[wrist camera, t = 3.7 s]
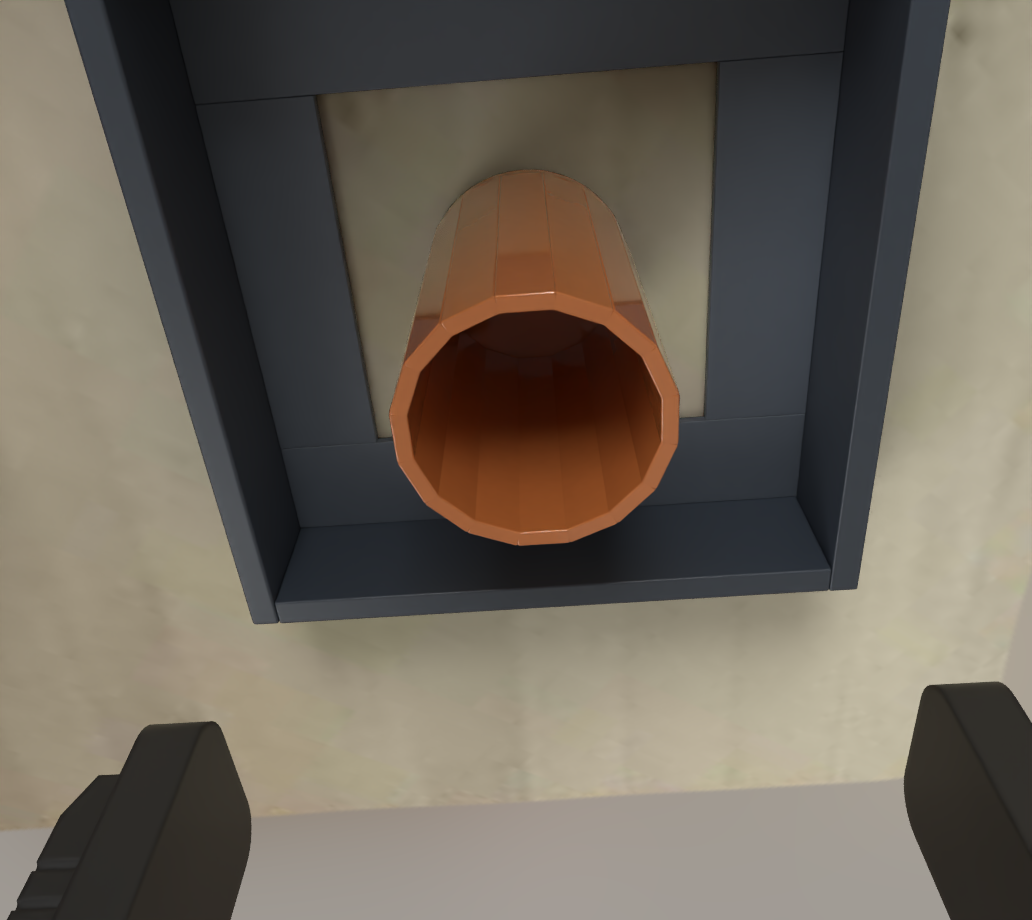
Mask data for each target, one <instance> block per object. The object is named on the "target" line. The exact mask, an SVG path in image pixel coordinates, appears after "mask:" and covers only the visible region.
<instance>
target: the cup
mask: <svg viewBox="0 0 1032 920" xmlns="http://www.w3.org/2000/svg"><path fill="white" fill-rule="evenodd" d="M679 404H680V395H679V391H678V388H677V385H676V382H675V379H674V376H673V373H672V371H671V368H670V365H669V362H668V359H667V356H666V353H665V350H664V347H663V345H662V342H661V339H660V336H659V333H658V330H657V327H656V324H655V321H654V319H653V316H652V313H651V310H650V307H649V304H648V301H647V298H646V295H645V293H644V290H643V287H642V284H641V281H640V278H639V275H638V272H637V269H636V267H635V264H634V261H633V258H632V255H631V252H630V249H629V247H628V245H627V242H626V240H625V238H624V236H623V233H622V231H621V228H620V226H619V224H618V222H617V220H616V218H615V216H614V214H613V213H612V212H611V211H610V209H609V208H608V206H607V205H606V204H605V203H604V202H603V201H602V200H601V199H600V198H599V197H598V196H597V195H596V194H595V193H594V192H592V191H591V190H590V189H589V188H587V187H586V186H584V185H583V184H581V183H579V182H577V181H576V180H574V179H571V178H569V177H567V176H564V175H561V174H558V173H554V172H550V171H543V170H516V171H509V172H505V173H501V174H498V175H494V176H492V177H490V178H488V179H485V180H483V181H481V182H479V183H478V184H476V185H475V186H473V187H471V188H470V189H469V190H467V191H466V192H465V193H464V194H462V195H461V196H460V197H459V198H458V199H457V200H456V201H455V202H454V203H453V204H452V206H451V207H450V208H449V209H448V211H447V212H446V214H445V215H444V217H443V218H442V220H441V222H440V224H439V225H438V227H437V228H436V232H435V235H434V239H433V242H432V246H431V249H430V253H429V256H428V260H427V263H426V267H425V271H424V275H423V279H422V283H421V287H420V291H419V295H418V299H417V303H416V307H415V311H414V315H413V319H412V323H411V327H410V331H409V335H408V339H407V343H406V347H405V351H404V355H403V359H402V363H401V367H400V371H399V375H398V379H397V383H396V387H395V391H394V395H393V399H392V402H391V406H390V410H389V413H390V414H389V419H390V424H391V430H392V436H393V442H394V448H395V454H396V459H397V462H398V465H399V466H400V468H401V469H402V471H403V472H404V474H405V475H406V477H407V478H408V479H409V481H410V482H411V484H412V485H413V487H414V488H415V490H416V491H417V493H418V494H419V496H420V497H421V499H422V500H423V502H424V503H426V505H427V506H429V507H430V508H432V509H433V510H434V511H436V512H437V513H439V514H440V515H442V516H443V517H445V518H446V519H448V520H449V521H451V522H452V523H454V524H455V525H457V526H458V527H460V528H461V529H463V530H464V531H465V532H468V533H470V534H474V535H478V536H482V537H486V538H489V539H493V540H497V541H501V542H505V543H508V544H512V545H519V546H524V545H540V544H556V543H569V542H573V541H575V540H578V539H580V538H583V537H585V536H588V535H590V534H593V533H595V532H598V531H600V530H603V529H605V528H608V527H610V526H612V525H615V524H617V523H618V522H620V521H621V520H622V519H624V518H625V517H626V516H627V515H628V514H629V513H630V512H631V511H633V510H634V509H635V508H636V507H637V506H638V505H639V504H640V503H642V502H643V501H644V500H645V499H646V498H647V497H648V496H649V495H651V494H652V493H653V492H654V491H655V489H656V488H657V487H658V485H659V483H660V481H661V479H662V477H663V475H664V473H665V471H666V469H667V467H668V464H669V462H670V460H671V458H672V456H673V454H674V452H675V450H676V448H677V446H678V442H679Z"/></svg>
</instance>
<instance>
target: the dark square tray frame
mask: <svg viewBox="0 0 1032 920" xmlns="http://www.w3.org/2000/svg"><path fill="white" fill-rule="evenodd" d="M64 1H65V5H66V8H67V11H68V15H69V18H70V21H71V24H72V28H73V31H74V34H75V38H76V41H77V44H78V48H79V51H80V54H81V57H82V61H83V64H84V67H85V71H86V74H87V77H88V80H89V84H90V87H91V90H92V94H93V97H94V100H95V104H96V107H97V110H98V113H99V117H100V120H101V123H102V127H103V130H104V133H105V136H106V140H107V143H108V146H109V150H110V153H111V156H112V159H113V163H114V166H115V169H116V173H117V176H118V179H119V183H120V186H121V189H122V192H123V196H124V199H125V202H126V206H127V209H128V212H129V215H130V219H131V222H132V225H133V229H134V232H135V235H136V238H137V242H138V245H139V248H140V252H141V255H142V258H143V262H144V265H145V268H146V271H147V275H148V278H149V281H150V285H151V288H152V291H153V294H154V298H155V301H156V304H157V308H158V311H159V314H160V318H161V321H162V324H163V327H164V331H165V334H166V337H167V341H168V344H169V347H170V350H171V354H172V357H173V360H174V364H175V367H176V370H177V373H178V377H179V380H180V383H181V387H182V390H183V393H184V397H185V400H186V403H187V406H188V410H189V413H190V416H191V420H192V423H193V426H194V429H195V433H196V436H197V439H198V443H199V446H200V449H201V453H202V456H203V459H204V462H205V466H206V469H207V472H208V476H209V479H210V482H211V485H212V489H213V492H214V495H215V499H216V502H217V505H218V508H219V512H220V515H221V518H222V522H223V525H224V528H225V532H226V535H227V538H228V541H229V545H230V548H231V551H232V555H233V558H234V561H235V564H236V568H237V571H238V574H239V578H240V581H241V584H242V588H243V591H244V594H245V597H246V601H247V604H248V607H249V611H250V614H251V617H252V620H253V623H254V624H271V623H278V622H279V621H280V623H293V622H309V621H326V620H343V619H360V618H376V617H393V616H410V615H427V614H444V613H460V612H477V611H494V610H511V609H527V608H544V607H561V606H578V605H595V604H611V603H628V602H645V601H662V600H678V599H695V598H712V597H729V596H745V595H762V594H779V593H796V592H813V591H827V590H831V591H834V590H850V589H857V586H858V579H859V573H860V567H861V561H862V554H863V548H864V542H865V535H866V529H867V523H868V516H869V510H870V504H871V498H872V491H873V485H874V479H875V472H876V466H877V460H878V454H879V447H880V441H881V435H882V428H883V422H884V416H885V409H886V403H887V397H888V391H889V384H890V378H891V372H892V365H893V359H894V353H895V347H896V340H897V334H898V328H899V321H900V315H901V309H902V302H903V296H904V290H905V284H906V277H907V271H908V265H909V258H910V252H911V246H912V239H913V233H914V227H915V221H916V214H917V208H918V202H919V195H920V189H921V183H922V177H923V170H924V164H925V158H926V151H927V145H928V139H929V132H930V126H931V120H932V114H933V107H934V101H935V95H936V88H937V82H938V76H939V70H940V63H941V57H942V51H943V44H944V38H945V32H946V25H947V19H948V13H949V7H950V0H64ZM706 62H718V63H717V88H716V114H715V140H714V166H713V192H712V218H711V244H710V270H709V296H708V322H707V348H706V374H705V400H704V416H702V417H688V418H679V442H678V446H677V448H676V450H675V452H674V454H673V456H672V458H671V460H670V462H669V464H668V467H667V469H666V471H665V473H664V475H663V477H662V479H661V481H660V483H659V485H658V487H657V488H656V489H655V491H654V492H653V493H652V494H651V495H649V496H648V497H647V498H646V499H645V500H644V501H643V502H642V503H640V504H639V505H638V506H637V507H636V508H635V509H634V510H633V511H631V512H630V513H629V514H628V515H627V516H626V517H625V518H624V519H622V520H621V521H620V522H618V523H617V524H615V525H612V526H610V527H608V528H605V529H603V530H600V531H598V532H595V533H593V534H590V535H588V536H585V537H583V538H580V539H578V540H575V541H573V542H569V543H556V544H540V545H524V546H519V545H512V544H508V543H505V542H501V541H497V540H493V539H489V538H486V537H482V536H478V535H474V534H470V533H468V532H465V531H464V530H463V529H461V528H460V527H458V526H457V525H455V524H454V523H452V522H451V521H449V520H448V519H446V518H445V517H443V516H442V515H440V514H439V513H437V512H436V511H434V510H433V509H432V508H430V507H429V506H427V505H426V503H424V502H423V500H422V499H421V497H420V496H419V494H418V493H417V491H416V490H415V488H414V487H413V485H412V484H411V482H410V481H409V479H408V478H407V477H406V475H405V474H404V472H403V471H402V469H401V468H400V466H399V465H398V462H397V459H396V454H395V448H394V442H393V437H391V438H378V435H377V430H376V424H375V419H374V413H373V408H372V402H371V397H370V391H369V386H368V380H367V375H366V369H365V364H364V358H363V353H362V347H361V342H360V336H359V331H358V325H357V319H356V314H355V308H354V303H353V297H352V292H351V286H350V281H349V275H348V270H347V264H346V259H345V253H344V248H343V242H342V237H341V231H340V226H339V220H338V215H337V209H336V204H335V198H334V193H333V187H332V182H331V176H330V171H329V165H328V160H327V154H326V149H325V143H324V138H323V132H322V126H321V121H320V115H319V110H318V104H317V99H316V95H318V94H330V93H342V92H354V91H366V90H379V89H391V88H403V87H415V86H427V85H439V84H451V83H464V82H476V81H488V80H500V79H512V78H524V77H536V76H549V75H561V74H573V73H585V72H597V71H609V70H621V69H634V68H646V67H658V66H670V65H682V64H694V63H706Z"/></svg>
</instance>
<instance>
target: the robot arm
mask: <svg viewBox="0 0 1032 920" xmlns="http://www.w3.org/2000/svg"><path fill="white" fill-rule="evenodd" d="M904 794H905V802H906V808H907V813H908V817H909V821H910V824H911V827H912V830H913V833H914V835H915V838H916V840H917V842H918V845H919V847H920V849H921V852H922V854H923V856H924V859H925V861H926V863H927V866H928V868H929V870H930V872H931V875H932V877H933V880H934V882H935V884H936V887H937V889H938V891H939V893H940V896H941V898H942V900H943V903H944V905H945V908H946V910H947V912H948V915H949V917H950V919H951V920H1032V723H1031V721H1030V720H1029V718H1028V716H1027V715H1026V713H1025V711H1024V710H1023V708H1022V707H1021V705H1020V704H1019V702H1018V700H1017V699H1016V697H1015V696H1014V694H1013V693H1012V692H1011V691H1010V689H1009V688H1008V687H1007V686H1006V685H1004V684H1003V683H1000V682H978V683H960V684H941V685H929V686H927V687H926V688H925V689H924V691H923V693H922V696H921V700H920V705H919V709H918V714H917V719H916V723H915V728H914V732H913V737H912V742H911V746H910V751H909V755H908V760H907V765H906V769H905V775H904ZM250 843H251V814H250V808H249V804H248V801H247V798H246V796H245V793H244V790H243V787H242V784H241V782H240V779H239V776H238V773H237V771H236V768H235V765H234V762H233V760H232V757H231V754H230V751H229V749H228V746H227V743H226V740H225V738H224V735H223V732H222V730H221V728H220V727H219V725H218V724H217V723H216V722H213V721H210V722H191V723H173V724H154V725H148V726H146V727H145V728H144V729H143V730H142V731H141V732H140V734H139V735H138V737H137V739H136V741H135V743H134V745H133V747H132V749H131V751H130V754H129V756H128V758H127V760H126V762H125V764H124V766H123V768H122V771H121V773H120V774H117V775H98V776H97V778H96V779H95V780H94V781H93V782H92V783H91V784H90V785H89V786H88V787H87V788H86V789H85V790H84V791H83V792H82V793H81V794H80V796H79V797H78V798H77V799H76V800H75V801H74V802H73V803H72V804H71V805H70V806H69V807H68V808H67V809H66V810H65V811H64V812H63V814H62V815H61V816H60V817H59V819H58V821H57V823H56V825H55V827H54V829H53V831H52V833H51V835H50V837H49V839H48V841H47V843H46V845H45V847H44V849H43V851H42V853H41V854H40V856H39V858H38V860H37V869H36V871H32V872H31V874H30V876H29V878H28V880H27V882H26V884H25V886H24V888H23V890H22V891H21V893H20V895H19V897H18V899H17V908H16V910H15V911H11V913H10V915H9V917H8V919H7V920H230V919H231V916H232V913H233V909H234V906H235V902H236V899H237V895H238V892H239V889H240V885H241V881H242V878H243V875H244V871H245V868H246V864H247V860H248V856H249V851H250Z"/></svg>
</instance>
